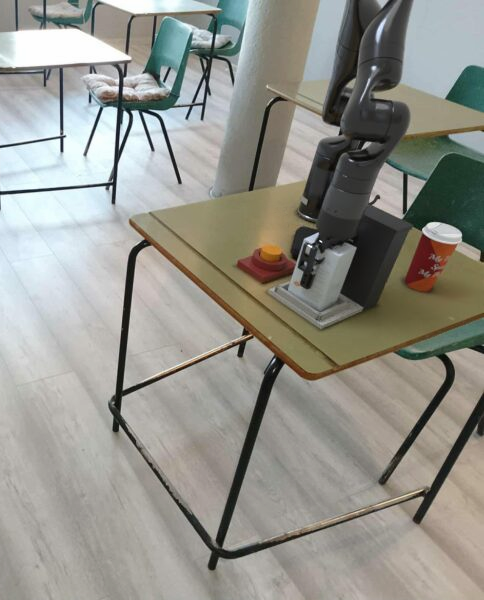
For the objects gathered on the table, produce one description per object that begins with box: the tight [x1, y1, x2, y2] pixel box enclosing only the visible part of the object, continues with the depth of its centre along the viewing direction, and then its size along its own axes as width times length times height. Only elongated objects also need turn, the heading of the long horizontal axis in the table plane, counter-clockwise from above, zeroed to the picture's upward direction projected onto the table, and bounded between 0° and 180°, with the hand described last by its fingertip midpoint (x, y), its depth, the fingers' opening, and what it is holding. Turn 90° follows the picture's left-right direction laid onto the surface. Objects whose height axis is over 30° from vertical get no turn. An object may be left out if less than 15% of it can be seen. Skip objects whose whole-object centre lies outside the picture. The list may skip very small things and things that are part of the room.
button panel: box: [236, 247, 296, 285], centre depth 128 cm, size 11×8×4 cm
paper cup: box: [404, 221, 463, 293], centre depth 123 cm, size 8×8×14 cm
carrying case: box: [289, 225, 318, 260], centre depth 136 cm, size 11×3×15 cm
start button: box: [260, 244, 283, 262], centre depth 126 cm, size 4×4×2 cm
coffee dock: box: [267, 204, 414, 330], centre depth 115 cm, size 18×14×19 cm
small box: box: [288, 232, 357, 311], centre depth 114 cm, size 8×6×13 cm
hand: (316, 282), depth 115 cm, fingers closed on small box, 6 cm apart
